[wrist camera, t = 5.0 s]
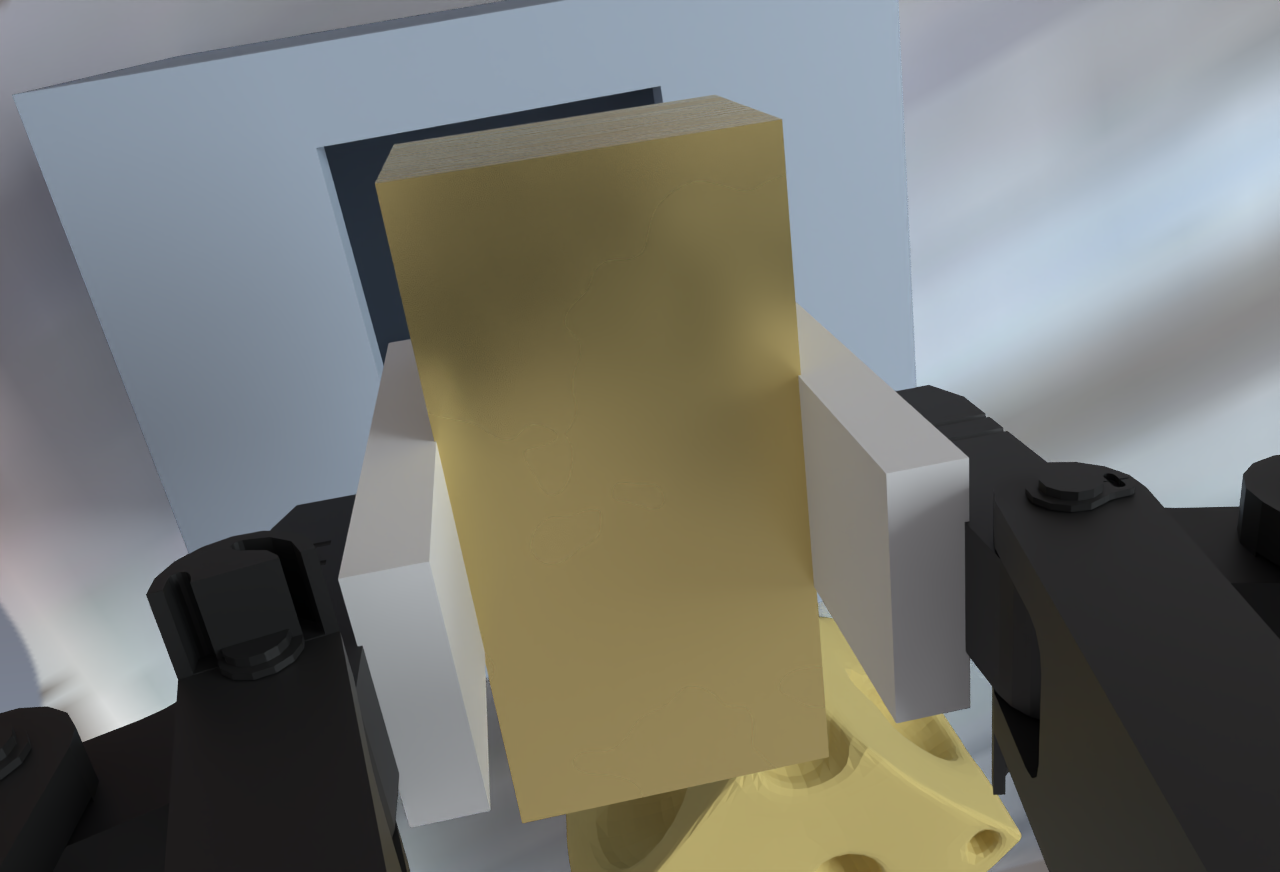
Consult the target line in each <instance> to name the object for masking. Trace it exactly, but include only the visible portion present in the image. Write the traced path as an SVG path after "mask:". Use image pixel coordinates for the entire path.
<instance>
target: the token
mask: <svg viewBox="0 0 1280 872" xmlns="http://www.w3.org/2000/svg"><path fill="white" fill-rule="evenodd" d="M375 187H376V191H377V195H378V200H379V204H380V208H381V213H382V217H383V221H384V226H385V230H386V234H387V239H388V243H389V247H390V252H391V256H392V260H393V265H394V269H395V273H396V278H397V282H398V286H399V291H400V295H401V299H402V304H403V308H404V312H405V317H406V321H407V325H408V330H409V334H410V338H411V343H412V347H413V351H414V356H415V360H416V364H417V369H418V373H419V377H420V382H421V386H422V390H423V395H424V399H425V403H426V408H427V412H428V416H429V421H430V425H431V430H432V434H433V438H434V442H435V441H436V443H437V447H438V451H439V456H440V460H441V464H442V469H443V473H444V477H445V482H446V486H447V490H448V495H449V499H450V503H451V508H452V512H453V516H454V521H455V525H456V530H457V534H458V538H459V543H460V547H461V551H462V556H463V560H464V564H465V569H466V573H467V577H468V582H469V586H470V590H471V595H472V599H473V603H474V608H475V612H476V617H477V621H478V625H479V630H480V634H481V638H482V643H483V647H484V651H485V664H486V668H487V672H488V677H489V681H490V685H491V690H492V694H493V698H494V703H495V707H496V711H497V716H498V720H499V724H500V729H501V733H502V737H503V742H504V746H505V750H506V755H507V759H508V763H509V768H510V772H511V776H512V781H513V785H514V790H515V794H516V798H517V803H518V807H519V811H520V816H521V820H522V823H527V822H531V821H536V820H541V819H545V818H550V817H554V816H559V815H564V814H568V813H573V812H578V811H582V810H587V809H591V808H596V807H601V806H605V805H610V804H614V803H619V802H624V801H628V800H633V799H638V798H642V797H647V796H651V795H656V794H661V793H665V792H670V791H675V790H679V789H684V788H688V787H693V786H698V785H702V784H707V783H711V782H716V781H721V780H725V779H730V778H735V777H739V776H744V775H748V774H753V773H758V772H762V771H767V770H772V769H776V768H781V767H785V766H790V765H795V764H799V763H804V762H808V761H813V760H818V759H822V758H827V757H829V749H828V735H827V722H826V708H825V695H824V681H823V667H822V654H821V640H820V627H819V613H818V599H817V591H816V589H815V587H814V579H813V566H812V553H811V539H810V526H809V512H808V499H807V486H806V472H805V459H804V446H803V432H802V419H801V406H800V392H799V379H798V376H799V375H801V368H800V355H799V341H798V327H797V314H796V300H795V287H794V273H793V259H792V246H791V232H790V219H789V205H788V191H787V178H786V164H785V151H784V137H783V123H782V119H780V118H778V117H775V116H772V115H769V114H767V113H764V112H761V111H758V110H756V109H753V108H750V107H747V106H745V105H742V104H739V103H736V102H734V101H731V100H728V99H726V98H723V97H720V96H717V95H710V96H703V97H697V98H690V99H684V100H677V101H671V102H664V103H658V104H652V105H645V106H639V107H632V108H626V109H619V110H613V111H606V112H600V113H593V114H587V115H580V116H574V117H568V118H561V119H555V120H548V121H542V122H535V123H529V124H522V125H516V126H509V127H503V128H497V129H490V130H484V131H477V132H471V133H464V134H458V135H451V136H445V137H438V138H432V139H425V140H419V141H413V142H406V143H400V144H394V145H393V147H392V149H391V151H390V153H389V155H388V158H387V160H386V162H385V164H384V166H383V168H382V170H381V172H380V174H379V176H378V178H377V180H376V182H375Z"/></svg>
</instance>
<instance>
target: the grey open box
mask: <svg viewBox="0 0 1280 872" xmlns="http://www.w3.org/2000/svg"><path fill="white" fill-rule="evenodd" d="M710 95H717V96H720V97H723V98H726V99H728V100H731V101H734V102H736V103H739V104H742V105H745V106H747V107H750V108H753V109H756V110H758V111H761V112H764V113H767V114H769V115H772V116H775V117H778V118H780V119H782V123H783V137H784V151H785V164H786V178H787V191H788V205H789V219H790V232H791V246H792V259H793V273H794V287H795V300H796V302H797V303H798V304H799V305H800V306H801V307H802V308H803V309H804V310H805V311H807V312H808V313H809V314H810V315H811V316H812V317H813V318H814V319H815V320H817V321H818V322H819V323H820V324H821V325H822V326H823V327H824V328H825V329H827V330H828V331H829V332H830V333H831V334H832V335H833V336H834V337H835V338H837V339H838V340H839V341H840V342H841V343H842V344H843V345H844V346H845V347H847V348H848V349H849V350H850V351H851V352H852V353H853V354H854V355H855V356H857V357H858V358H859V359H860V360H861V361H862V362H863V363H864V364H865V365H867V366H868V367H869V368H870V369H871V370H872V371H873V372H874V373H875V374H877V375H878V376H879V377H880V378H881V379H882V380H883V381H884V382H885V383H887V384H888V385H889V386H890V387H891V388H892V389H893V390H894V391H899V390H905V389H910V388H916V366H915V345H914V324H913V302H912V281H911V260H910V239H909V217H908V196H907V175H906V154H905V132H904V111H903V90H902V68H901V47H900V26H899V5H898V0H505V1H499V2H494V3H488V4H482V5H476V6H470V7H464V8H458V9H453V10H447V11H441V12H435V13H429V14H423V15H417V16H411V17H406V18H400V19H394V20H388V21H382V22H376V23H370V24H364V25H359V26H353V27H347V28H341V29H335V30H329V31H323V32H317V33H312V34H306V35H300V36H294V37H288V38H282V39H276V40H271V41H265V42H259V43H253V44H247V45H241V46H235V47H229V48H224V49H218V50H212V51H206V52H200V53H194V54H188V55H182V56H177V57H173V58H168V59H164V60H160V61H156V62H151V63H147V64H143V65H138V66H134V67H130V68H126V69H121V70H117V71H113V72H108V73H104V74H100V75H96V76H91V77H87V78H83V79H78V80H74V81H70V82H66V83H61V84H57V85H53V86H48V87H44V88H40V89H36V90H31V91H27V92H23V93H18V94H14V95H12V96H13V99H14V101H15V104H16V107H17V109H18V112H19V114H20V117H21V120H22V122H23V125H24V127H25V130H26V133H27V135H28V138H29V140H30V143H31V145H32V148H33V151H34V153H35V156H36V158H37V161H38V164H39V166H40V169H41V171H42V174H43V177H44V179H45V182H46V184H47V187H48V190H49V192H50V195H51V197H52V200H53V203H54V205H55V208H56V210H57V213H58V215H59V218H60V221H61V223H62V226H63V228H64V231H65V234H66V236H67V239H68V241H69V244H70V247H71V249H72V252H73V254H74V257H75V260H76V262H77V265H78V267H79V270H80V272H81V275H82V278H83V280H84V283H85V285H86V288H87V291H88V293H89V296H90V298H91V301H92V304H93V306H94V309H95V311H96V314H97V317H98V319H99V322H100V324H101V327H102V329H103V332H104V335H105V337H106V340H107V342H108V345H109V348H110V350H111V353H112V355H113V358H114V361H115V363H116V366H117V368H118V371H119V374H120V376H121V379H122V381H123V384H124V387H125V389H126V392H127V394H128V397H129V399H130V402H131V405H132V407H133V410H134V412H135V415H136V418H137V420H138V423H139V425H140V428H141V431H142V433H143V436H144V438H145V441H146V444H147V446H148V449H149V451H150V454H151V456H152V459H153V462H154V464H155V467H156V469H157V472H158V475H159V477H160V480H161V482H162V485H163V488H164V490H165V493H166V495H167V498H168V501H169V503H170V506H171V508H172V511H173V514H174V516H175V519H176V521H177V524H178V526H179V529H180V532H181V534H182V537H183V539H184V542H185V545H186V547H187V550H188V552H189V554H190V553H191V552H193V551H195V550H197V549H199V548H201V547H203V546H206V545H209V544H212V543H215V542H217V541H220V540H223V539H226V538H229V537H232V536H237V535H242V534H247V533H253V532H258V531H270V530H271V529H272V528H273V527H274V526H275V525H276V524H277V523H278V522H279V521H280V520H281V519H282V518H284V517H285V516H286V515H287V514H288V513H289V512H290V511H291V510H292V509H293V508H294V507H295V506H296V505H300V504H306V503H311V502H316V501H322V500H327V499H333V498H338V497H343V496H349V495H354V494H356V493H357V488H358V484H359V479H360V474H361V470H362V465H363V460H364V456H365V451H366V446H367V442H368V437H369V432H370V428H371V423H372V418H373V414H374V409H375V404H376V400H377V395H378V390H379V386H380V381H381V376H382V372H383V367H384V362H385V358H386V353H387V348H388V344H389V343H391V342H397V341H403V340H409V339H411V338H410V334H409V330H408V325H407V321H406V317H405V312H404V308H403V304H402V299H401V295H400V291H399V286H398V282H397V278H396V273H395V269H394V265H393V260H392V256H391V252H390V247H389V243H388V239H387V234H386V230H385V226H384V221H383V217H382V213H381V208H380V204H379V200H378V195H377V191H376V187H375V182H376V180H377V178H378V176H379V174H380V172H381V170H382V168H383V166H384V164H385V162H386V160H387V158H388V155H389V153H390V151H391V149H392V147H393V145H394V144H400V143H406V142H413V141H419V140H425V139H432V138H438V137H445V136H451V135H458V134H464V133H471V132H477V131H484V130H490V129H497V128H503V127H509V126H516V125H522V124H529V123H535V122H542V121H548V120H555V119H561V118H568V117H574V116H580V115H587V114H593V113H600V112H606V111H613V110H619V109H626V108H632V107H639V106H645V105H652V104H658V103H664V102H671V101H677V100H684V99H690V98H697V97H703V96H710ZM817 599H818V603H819V602H823V601H822V599H821V597H820V596H819V594H818V592H817ZM485 672H486V678H489V677H488V672H487V668H486V664H485Z"/></svg>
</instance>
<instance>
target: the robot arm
mask: <svg viewBox="0 0 1280 872" xmlns="http://www.w3.org/2000/svg"><path fill="white" fill-rule="evenodd" d="M796 314H797V327H798V341H799V355H800V368H801V375H799V376H798V379H799V392H800V406H801V419H802V432H803V446H804V459H805V472H806V486H807V499H808V512H809V526H810V539H811V553H812V566H813V579H814V587H815V589H816V591H817V592H818V594H819V596H820V597H821V599H822V601H823V602H824V604H825V606H826V607H827V609H828V611H829V612H830V614H831V616H832V617H833V619H834V621H835V622H836V624H837V626H838V627H839V629H840V631H841V632H842V634H843V636H844V637H845V639H846V641H847V642H848V644H849V646H850V647H851V649H852V651H853V652H854V654H855V656H856V657H857V659H858V661H859V662H860V664H861V666H862V667H863V669H864V671H865V672H866V674H867V676H868V677H869V679H870V681H871V682H872V684H873V686H874V687H875V689H876V691H877V692H878V694H879V696H880V697H881V699H882V701H883V702H884V704H885V706H886V707H887V709H888V711H889V712H890V714H891V716H892V717H893V719H894V721H895V722H896V723H901V722H906V721H910V720H915V719H920V718H924V717H929V716H934V715H938V714H943V713H948V712H952V711H957V710H962V709H966V708H970V658H971V659H972V661H973V662H974V663H975V664H976V666H977V667H978V668H979V670H980V671H981V672H982V674H983V675H984V676H985V677H986V679H987V680H988V681H989V683H990V684H991V685H992V786H993V795H1002V794H1005V776H1006V775H1007V773H1008V772H1010V774H1011V777H1012V779H1013V782H1014V785H1015V787H1016V790H1017V792H1018V795H1019V797H1020V800H1021V802H1022V805H1023V807H1024V810H1025V812H1026V815H1027V817H1028V820H1029V822H1030V825H1031V827H1032V830H1033V832H1034V835H1035V837H1036V840H1037V842H1038V845H1039V847H1040V850H1041V853H1042V855H1043V858H1044V860H1045V863H1046V865H1047V867H1048V870H1049V872H1280V455H1275V456H1272V457H1269V458H1266V459H1263V460H1261V461H1258V462H1255V463H1253V464H1252V465H1251V466H1250V467H1249V468H1248V470H1247V471H1246V472H1245V473H1244V474H1243V481H1242V490H1241V498H1240V507H1203V508H1164V507H1163V506H1162V505H1161V504H1160V502H1159V501H1158V500H1157V499H1156V498H1155V497H1154V496H1153V494H1152V493H1151V492H1150V491H1149V490H1148V489H1147V488H1146V487H1145V486H1144V485H1142V484H1141V483H1140V482H1138V481H1137V480H1135V479H1134V478H1133V477H1131V476H1130V475H1128V474H1125V473H1122V472H1120V471H1116V470H1113V469H1111V468H1108V467H1105V466H1098V465H1092V464H1085V463H1078V462H1049V463H1047V462H1046V461H1045V460H1043V459H1042V458H1041V457H1040V456H1038V455H1037V454H1036V453H1035V452H1033V451H1032V450H1031V449H1029V448H1028V447H1027V446H1026V445H1024V444H1023V443H1022V442H1021V441H1019V440H1018V439H1017V438H1015V437H1014V436H1013V435H1012V434H1010V433H1009V432H1008V431H1006V432H1004V431H1003V427H1002V426H1000V425H999V424H998V423H996V422H995V421H994V420H993V419H991V418H990V417H987V418H986V416H985V413H984V412H982V411H981V410H980V409H979V408H977V407H976V406H975V405H974V404H972V403H971V402H970V401H969V400H967V399H966V398H965V397H963V396H960V395H957V394H954V393H951V392H948V391H945V390H942V389H939V388H936V387H933V386H930V385H926V386H921V387H916V388H910V389H905V390H899V391H894V390H893V389H892V388H891V387H890V386H889V385H888V384H887V383H885V382H884V381H883V380H882V379H881V378H880V377H879V376H878V375H877V374H875V373H874V372H873V371H872V370H871V369H870V368H869V367H868V366H867V365H865V364H864V363H863V362H862V361H861V360H860V359H859V358H858V357H857V356H855V355H854V354H853V353H852V352H851V351H850V350H849V349H848V348H847V347H845V346H844V345H843V344H842V343H841V342H840V341H839V340H838V339H837V338H835V337H834V336H833V335H832V334H831V333H830V332H829V331H828V330H827V329H825V328H824V327H823V326H822V325H821V324H820V323H819V322H818V321H817V320H815V319H814V318H813V317H812V316H811V315H810V314H809V313H808V312H807V311H805V310H804V309H803V308H802V307H801V306H800V305H799V304H798V303H797V302H796ZM146 596H147V598H148V601H149V604H150V606H151V609H152V612H153V614H154V617H155V620H156V622H157V625H158V627H159V630H160V633H161V635H162V638H163V641H164V643H165V646H166V649H167V651H168V654H169V657H170V659H171V662H172V665H173V667H174V670H175V673H176V675H177V678H178V690H177V702H175V703H174V704H172V705H170V706H169V707H167V708H165V709H164V710H161V711H159V712H157V713H155V714H152V715H150V716H148V717H146V718H144V719H141V720H139V721H137V722H134V723H131V724H129V725H126V726H124V727H121V728H118V729H116V730H113V731H111V732H108V733H105V734H103V735H100V736H98V737H95V738H93V739H90V740H87V741H85V742H82V741H81V738H80V736H79V734H78V732H77V729H76V727H75V725H74V723H73V722H72V720H71V718H70V717H69V715H68V713H66V712H63V711H60V710H57V709H54V708H50V707H32V708H18V709H14V710H11V711H7V712H4V713H0V872H410V869H409V865H408V860H407V857H406V854H405V850H404V847H403V843H402V840H401V837H400V833H399V830H398V826H397V823H396V810H397V797H398V789H399V792H400V796H401V799H402V803H403V806H404V810H405V813H406V816H407V820H408V823H409V827H410V828H413V827H418V826H422V825H427V824H431V823H436V822H441V821H445V820H450V819H455V818H459V817H464V816H469V815H473V814H478V813H482V812H487V811H490V784H489V756H488V728H487V700H486V672H485V651H484V647H483V643H482V638H481V634H480V630H479V625H478V621H477V617H476V612H475V608H474V603H473V599H472V595H471V590H470V586H469V582H468V577H467V573H466V569H465V564H464V560H463V556H462V551H461V547H460V543H459V538H458V534H457V530H456V525H455V521H454V516H453V512H452V508H451V503H450V499H449V495H448V490H447V486H446V482H445V477H444V473H443V469H442V464H441V460H440V456H439V451H438V447H437V443H436V441H435V442H434V438H433V434H432V430H431V425H430V421H429V416H428V412H427V408H426V403H425V399H424V395H423V390H422V386H421V382H420V377H419V373H418V369H417V364H416V360H415V356H414V351H413V347H412V343H411V339H409V340H403V341H397V342H391V343H389V344H388V348H387V353H386V358H385V362H384V367H383V372H382V376H381V381H380V386H379V390H378V395H377V400H376V404H375V409H374V414H373V418H372V423H371V428H370V432H369V437H368V442H367V446H366V451H365V456H364V460H363V465H362V470H361V474H360V479H359V484H358V488H357V493H356V494H354V495H349V496H343V497H338V498H333V499H327V500H322V501H316V502H311V503H306V504H300V505H296V506H295V507H294V508H293V509H292V510H291V511H290V512H289V513H288V514H287V515H286V516H285V517H284V518H282V519H281V520H280V521H279V522H278V523H277V524H276V525H275V526H274V527H273V528H272V529H271V530H270V531H258V532H253V533H247V534H242V535H237V536H232V537H229V538H226V539H223V540H220V541H217V542H215V543H212V544H209V545H206V546H203V547H201V548H199V549H197V550H195V551H193V552H191V553H190V554H188V555H186V556H184V557H182V558H180V559H178V560H177V561H175V562H173V563H172V564H171V565H170V566H169V567H168V568H166V569H165V570H164V571H163V572H162V573H161V574H159V575H158V576H157V577H156V578H155V579H154V581H153V583H152V585H151V587H150V588H149V590H148V592H147V594H146Z"/></svg>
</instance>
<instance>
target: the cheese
mask: <svg viewBox="0 0 1280 872" xmlns="http://www.w3.org/2000/svg"><path fill="white" fill-rule="evenodd" d="M819 627H820V640H821V654H822V667H823V681H824V695H825V708H826V722H827V735H828V749H829V757H827V758H822V759H818V760H813V761H808V762H804V763H799V764H795V765H790V766H785V767H781V768H776V769H772V770H767V771H762V772H758V773H753V774H748V775H744V776H739V777H735V778H730V779H725V780H721V781H716V782H711V783H707V784H702V785H698V786H693V787H688V788H684V789H679V790H675V791H670V792H665V793H661V794H656V795H651V796H647V797H642V798H638V799H633V800H628V801H624V802H619V803H614V804H610V805H605V806H601V807H596V808H591V809H587V810H582V811H578V812H573V813H568V814H566V824H567V846H568V855H569V862H570V867H571V872H987V871H988V870H989V869H990V868H991V867H993V866H994V865H995V864H996V863H997V862H998V861H999V860H1000V859H1001V858H1002V857H1003V856H1004V855H1005V854H1006V853H1007V852H1008V851H1009V850H1010V849H1011V848H1013V847H1014V846H1015V845H1016V844H1017V843H1018V842H1019V841H1020V839H1021V833H1020V831H1019V830H1018V828H1017V826H1016V825H1015V823H1014V821H1013V820H1012V818H1011V816H1010V815H1009V813H1008V811H1007V810H1006V808H1005V806H1004V805H1003V803H1002V801H1001V800H1000V798H999V796H998V795H993V787H992V785H991V784H990V782H989V781H988V779H987V778H986V776H985V775H984V773H983V772H982V770H981V769H980V767H979V766H978V765H977V764H976V763H975V761H974V760H973V758H972V757H971V756H970V754H969V753H968V751H967V750H966V749H965V747H964V745H963V744H962V742H961V740H960V739H959V737H958V736H957V734H956V733H955V731H954V730H953V728H952V727H951V725H950V724H949V722H948V721H947V719H946V718H945V716H944V715H943V714H938V715H934V716H929V717H924V718H920V719H915V720H910V721H906V722H901V723H896V722H895V721H894V719H893V717H892V716H891V714H890V712H889V711H888V709H887V707H886V706H885V704H884V702H883V701H882V699H881V697H880V696H879V694H878V692H877V691H876V689H875V687H874V686H873V684H872V682H871V681H870V679H869V677H868V676H867V674H866V672H865V671H864V669H863V667H862V666H861V664H860V662H859V661H858V659H857V657H856V656H855V654H854V652H853V651H852V649H851V647H850V646H849V644H848V642H847V641H846V639H845V637H844V636H843V634H842V632H841V631H840V629H839V627H838V626H837V624H836V622H835V621H834V619H832V618H826V617H819Z"/></svg>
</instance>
